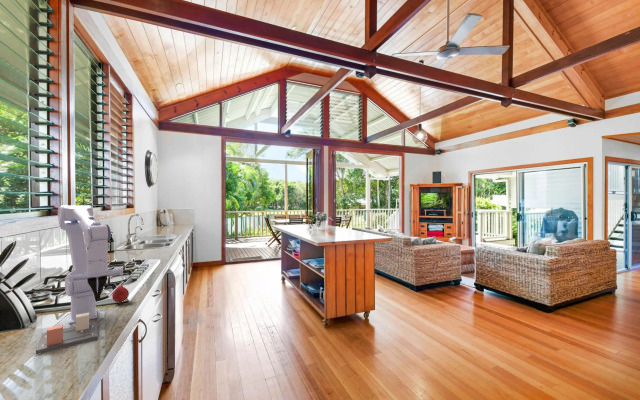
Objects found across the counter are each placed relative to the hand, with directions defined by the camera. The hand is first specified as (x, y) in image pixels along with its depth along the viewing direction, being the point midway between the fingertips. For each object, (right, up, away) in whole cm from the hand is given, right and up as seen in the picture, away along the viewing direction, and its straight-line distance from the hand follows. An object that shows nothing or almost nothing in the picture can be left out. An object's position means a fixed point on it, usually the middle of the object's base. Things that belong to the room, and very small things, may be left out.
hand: (97, 298), depth 98 cm
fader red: (-4, -9, -12) cm, 15 cm away
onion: (-9, -10, +23) cm, 27 cm away
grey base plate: (-4, -10, -7) cm, 13 cm away
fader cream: (-3, -9, -2) cm, 10 cm away
